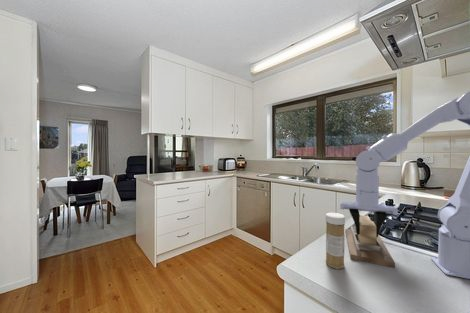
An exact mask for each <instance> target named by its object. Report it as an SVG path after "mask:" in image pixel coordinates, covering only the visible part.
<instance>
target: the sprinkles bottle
mask: <svg viewBox="0 0 470 313" xmlns="http://www.w3.org/2000/svg"><path fill="white" fill-rule="evenodd" d="M325 224H326V230H325V231H326V236H325V237H326V239H325V252H326V253H325V263H326V265H328V266H329V267H330V268H333V269H340V270H341V269H343V268H345V237H346V234H345V224H346V216H345V215H344V214H342V213H339V212H338V213H337V212H328V213H327V212H326V214H325Z"/></svg>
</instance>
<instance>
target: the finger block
mask: <svg viewBox="0 0 470 313" xmlns="http://www.w3.org/2000/svg"><path fill="white" fill-rule="evenodd" d="M359 228H360V235H358V239H359V242H360V243H361V244H367V245H374V246H376V225H375V223H374V220H371V221H367V220H359Z"/></svg>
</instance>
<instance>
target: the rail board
mask: <svg viewBox="0 0 470 313" xmlns="http://www.w3.org/2000/svg"><path fill="white" fill-rule="evenodd" d="M359 220H367V221H372V219H371V218H370V217H369V216H368V215H361V214H360V219H359ZM344 234H345V237H346V238H345V239H346V241H347V242H346V243H347V248H348V253H349V258H350V260H355V261H360V262H366V263H371V264H375V265H381V266H385V267H391V268H395V267H396V262H395V260H394V259H393V257H392V255H391V253H390V251H389V250H388V248H387V246H386V245H385V244H384V241H383V240H382V238H381V236H380V235H379V234H380V233H379V234H378V237H376V246H374V245H367V244H361V243H360V242H359V239H358V234H357V233H356V227H355V226H354V227H353V225H352V226H351V225H350V229H348V228H344Z"/></svg>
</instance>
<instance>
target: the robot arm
mask: <svg viewBox="0 0 470 313" xmlns="http://www.w3.org/2000/svg"><path fill="white" fill-rule="evenodd" d="M455 120H456V121H458V122H461V123H464V124H466V125H467V126H468V127H470V90H469V91H467V92H465V93H464V94H462V96H460V97H456V98H454V99H452V100H450V101H447V102H446V103H444V104H442V105H441V106H439V107H436V108H435V109H433V110H432V111H431V112H429V113H428V114H426V115H425V116H423V117H421V118H420V119H419V120H417V121H416V122H414V123H413V124H412V125H410V126H409V127H407V128H406V129H404V130H403V131H401V132H400V133H395V132H394V133H389V134H388V135H387V134H383V136H381V139H380V140H379V141H377V142H376V143H374V144H372V146H367V147H365V149H366V150H363V151H361V152H360V153H359V154H357V156H356V158H355V164H356V166H357V168H356V176H355V177H356V178H355V182H356V184H355V193H356V194H355V196H356V197H355V202H352V201H348V202H347V201H340V202H339V209H340V210H348V211H349V213H350V216H351V218H352V219H353V224H354V228H355V227H356V233H357V234H358V235H360V228H359V219H360V215H361V214H360V212H371V213H373V222H374V223H375V225H376V237H378V234H380V231H381V228H382V226H383V224H384V223H385V222H386V220H387V219H388V215H387V214H390V215H391V214H392V215H393V216H398V214H399V212H398V207H396V206H391V205H386V204H385V205H384V204H379V198H380V197H379V193H380V192H379V188H380V187H379V186H380V185H379V184H380V178H379V175H378V174H379V173H378V172H379V171H378V168H379V166H380V163H386V162H387V161H389V160H391V159H393V158H394V157H396V156H397V155H399V154H400V153H402V152H404V151H405V150H407V149H408V144H409V142H410V141H412V140H414V139H416V138H417V137H419V136H420V135H422V134H424V133H426V132H427V131H429V130H431V129H433V128H434V127H436V126H438V125H440V124H442V123H443V124H444V123H449V122H454V121H455ZM437 217H438V220H439V221H440V223H442V225H441V226H440V227H439V228H438V246H437V247H438V249H437V252H438V253H437V257H434V256H431V257H430V260H432V261H433V263H434V264H435V265H436V266H437V267H438V268H439V269H440V270H441V271H442V272H443V273H444V275H447V276H452V277H457V278H463V279H468V280H470V155H469V156H468V159H467V161H466V164H465V166H464V169H463V171H462V174H461V176H460V179H459V182H458V183H457V186H456V188H455V191H454V193H453V194H452V195H451V196H450V197H449V198H448V199H447V202H446V204H445V205H444V206H441V207H440V208H439V209H438V212H437Z"/></svg>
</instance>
